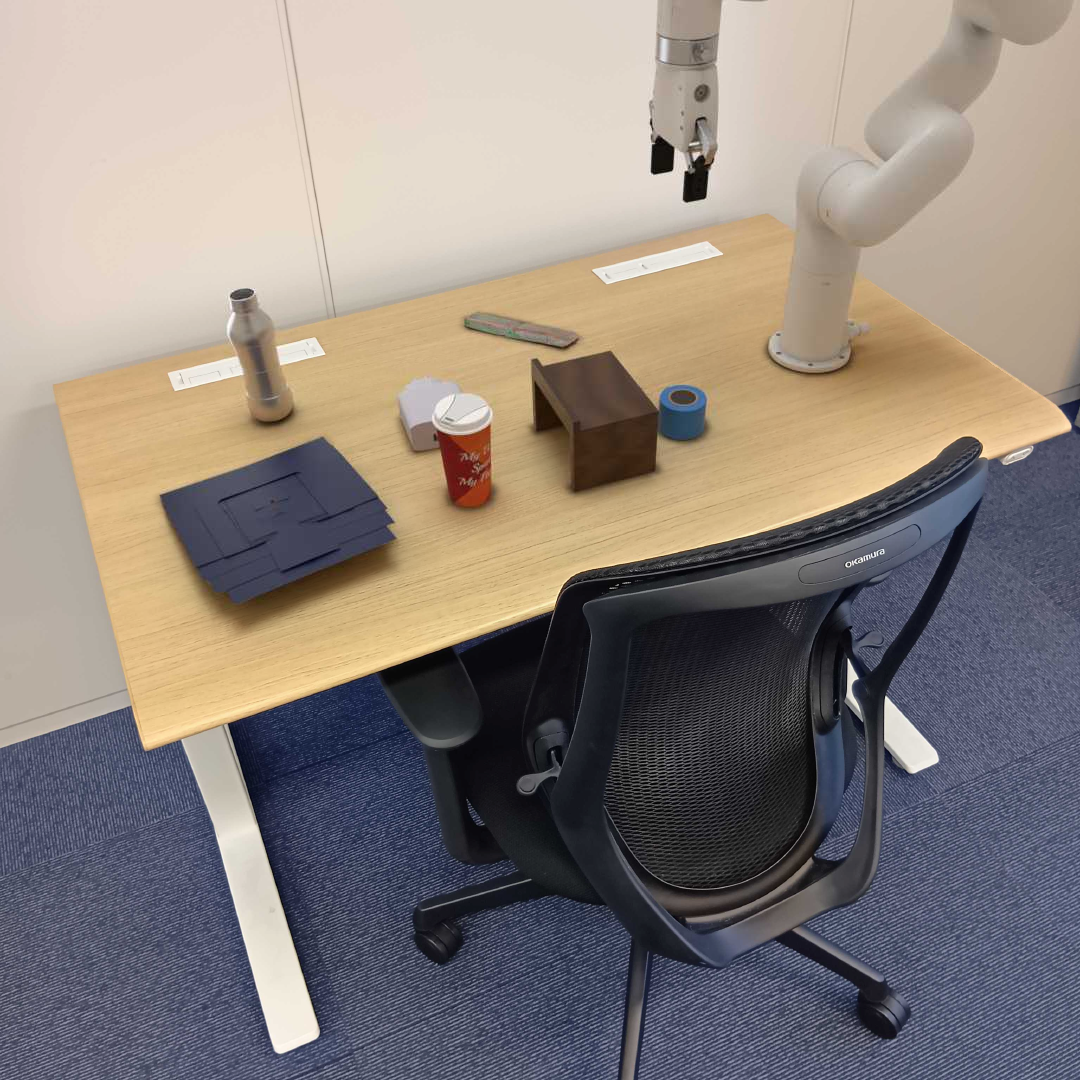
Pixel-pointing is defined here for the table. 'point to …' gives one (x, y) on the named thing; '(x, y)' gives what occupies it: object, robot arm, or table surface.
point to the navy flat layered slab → (277, 520)
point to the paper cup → (465, 447)
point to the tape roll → (682, 412)
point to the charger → (423, 409)
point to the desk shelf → (597, 417)
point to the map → (520, 329)
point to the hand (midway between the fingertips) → (677, 186)
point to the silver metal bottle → (258, 357)
